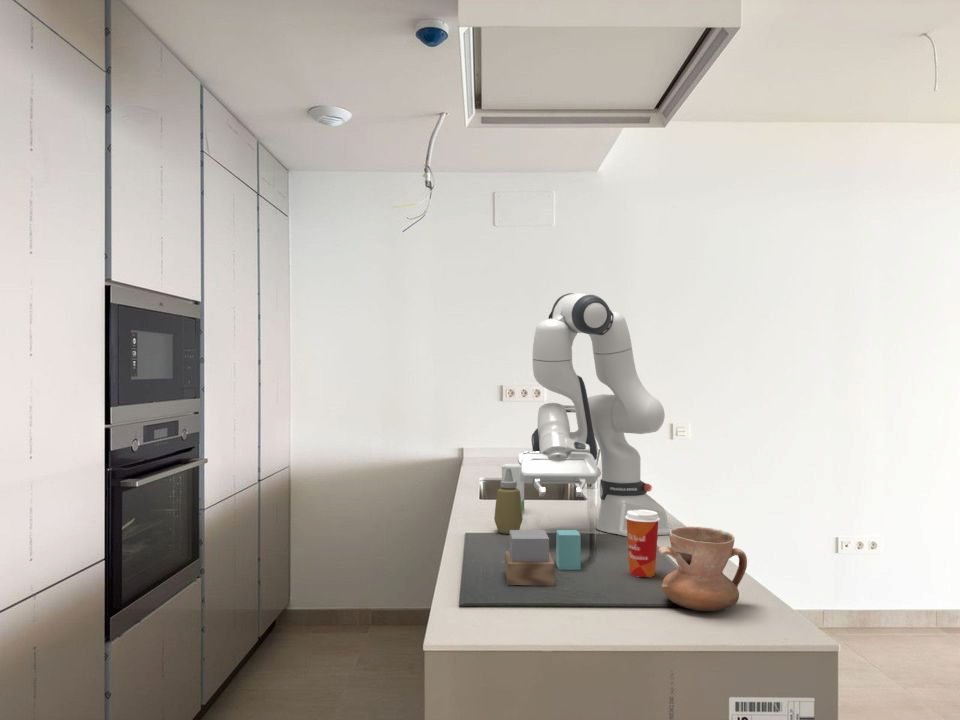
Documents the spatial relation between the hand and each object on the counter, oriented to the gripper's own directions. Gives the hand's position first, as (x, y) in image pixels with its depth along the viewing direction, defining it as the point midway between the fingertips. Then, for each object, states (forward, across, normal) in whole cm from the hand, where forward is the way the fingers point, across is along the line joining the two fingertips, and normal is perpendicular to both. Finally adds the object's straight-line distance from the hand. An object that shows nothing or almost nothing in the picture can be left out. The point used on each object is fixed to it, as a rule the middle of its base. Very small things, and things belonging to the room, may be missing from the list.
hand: (561, 495), depth 174 cm
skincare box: (-24, -9, +44) cm, 51 cm away
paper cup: (+23, +16, -2) cm, 28 cm away
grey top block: (+22, -10, -8) cm, 25 cm away
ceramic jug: (+38, +23, -16) cm, 47 cm away
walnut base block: (+26, -10, -5) cm, 28 cm away
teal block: (+19, 0, +2) cm, 19 cm away
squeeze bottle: (-5, -12, +26) cm, 29 cm away
